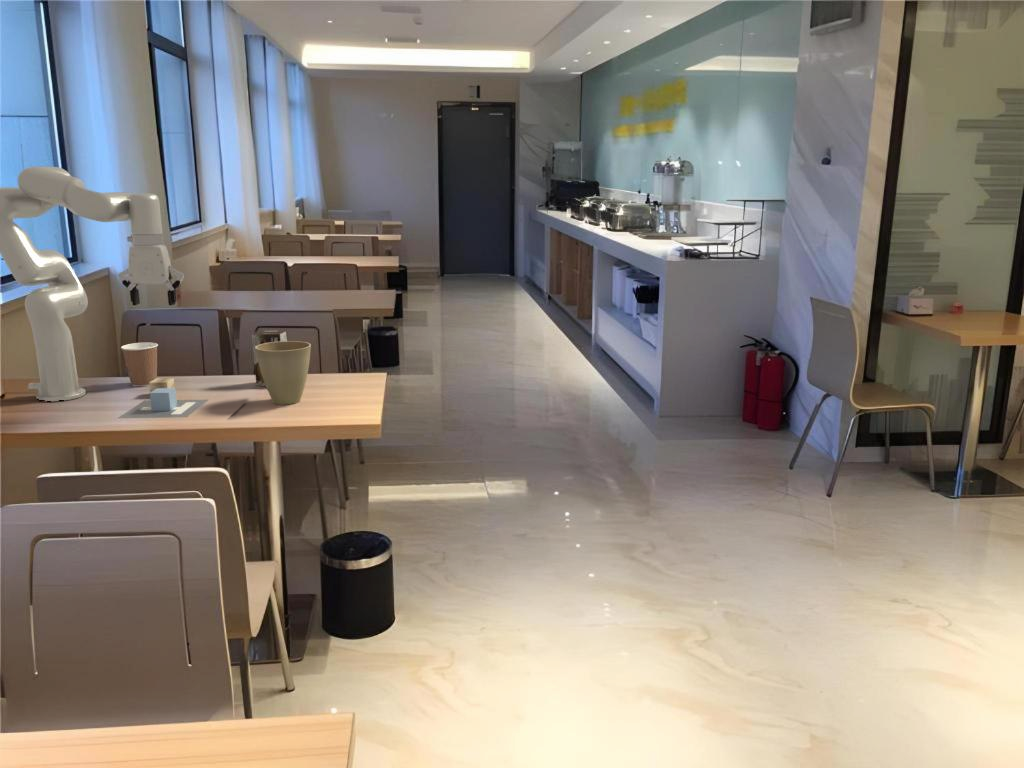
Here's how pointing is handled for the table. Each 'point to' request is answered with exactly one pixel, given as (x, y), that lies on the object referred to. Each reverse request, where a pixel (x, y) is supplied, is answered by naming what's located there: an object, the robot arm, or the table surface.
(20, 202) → the robot arm
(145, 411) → the letter board
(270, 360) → the plant pot
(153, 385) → the wood block
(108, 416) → the table surface
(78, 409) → the table surface
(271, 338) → the coffee box
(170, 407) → the blue cube
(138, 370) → the coffee cup
